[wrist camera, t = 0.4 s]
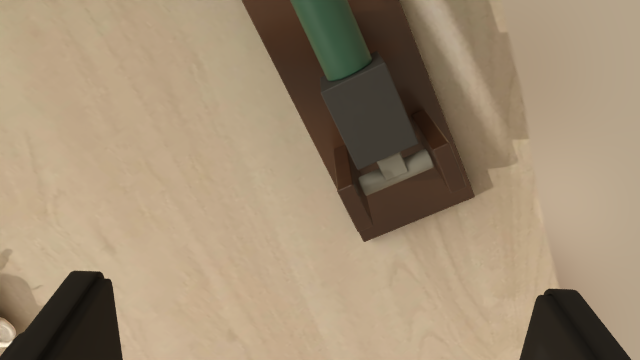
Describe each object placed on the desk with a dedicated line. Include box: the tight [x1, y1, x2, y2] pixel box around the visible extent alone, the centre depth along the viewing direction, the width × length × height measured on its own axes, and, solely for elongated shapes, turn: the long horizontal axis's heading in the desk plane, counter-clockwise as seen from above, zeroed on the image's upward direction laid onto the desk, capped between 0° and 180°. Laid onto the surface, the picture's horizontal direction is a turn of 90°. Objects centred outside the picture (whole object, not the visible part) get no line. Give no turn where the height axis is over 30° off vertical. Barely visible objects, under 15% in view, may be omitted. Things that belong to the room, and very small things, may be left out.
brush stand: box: [242, 0, 475, 242], centre depth 24 cm, size 21×7×6 cm, turn 25°
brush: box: [290, 0, 434, 196], centre depth 22 cm, size 15×4×3 cm, turn 25°
